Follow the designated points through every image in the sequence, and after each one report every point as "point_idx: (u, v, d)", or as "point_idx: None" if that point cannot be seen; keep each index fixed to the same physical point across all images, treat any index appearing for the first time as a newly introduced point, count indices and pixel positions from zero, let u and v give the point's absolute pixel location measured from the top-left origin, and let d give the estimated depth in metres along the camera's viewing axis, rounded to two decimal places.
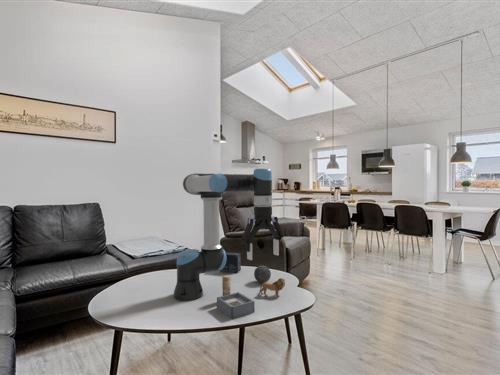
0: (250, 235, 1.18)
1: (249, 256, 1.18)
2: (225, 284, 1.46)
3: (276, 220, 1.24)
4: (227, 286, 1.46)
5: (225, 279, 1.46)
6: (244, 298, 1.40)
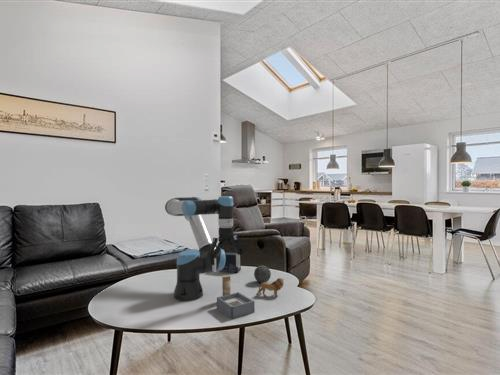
0: (214, 251, 1.44)
1: (214, 269, 1.43)
2: (225, 284, 1.46)
3: (237, 238, 1.50)
4: (227, 286, 1.46)
5: (225, 279, 1.46)
6: (244, 298, 1.40)
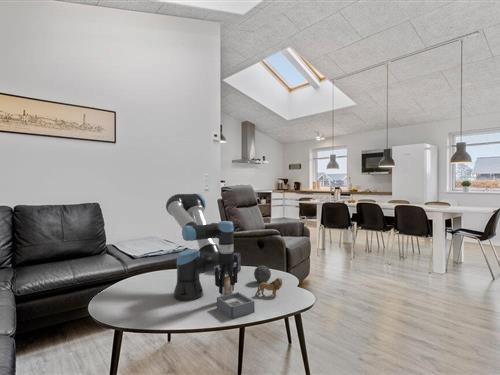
0: (220, 280, 1.46)
1: None
2: (225, 284, 1.46)
3: (236, 266, 1.50)
4: (227, 286, 1.46)
5: (225, 279, 1.46)
6: (244, 298, 1.40)
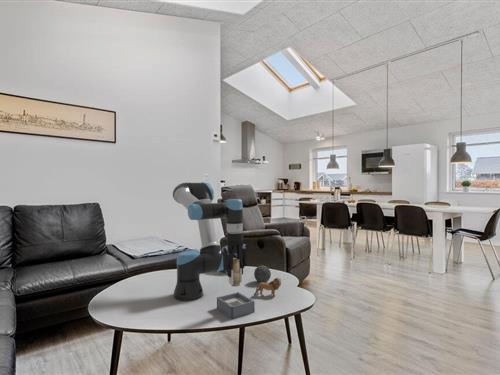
0: (229, 262, 1.34)
1: (230, 281, 1.34)
2: (234, 266, 1.34)
3: (246, 248, 1.39)
4: (236, 269, 1.34)
5: (234, 261, 1.34)
6: (244, 298, 1.40)
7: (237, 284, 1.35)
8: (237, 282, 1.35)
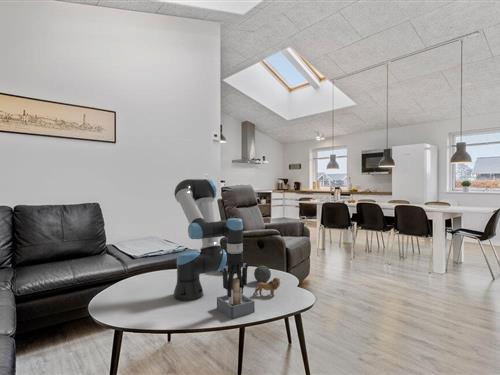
0: (229, 282, 1.35)
1: (230, 300, 1.35)
2: (234, 286, 1.35)
3: (246, 267, 1.39)
4: (236, 289, 1.35)
5: (234, 281, 1.35)
6: (244, 298, 1.40)
7: (237, 304, 1.35)
8: (237, 302, 1.35)
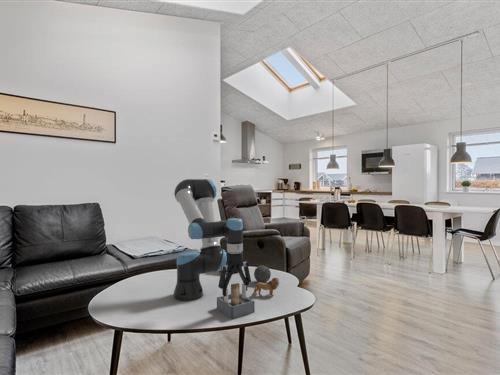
0: (225, 281, 1.34)
1: (225, 300, 1.33)
2: (234, 292, 1.35)
3: (247, 265, 1.39)
4: (236, 294, 1.35)
5: (234, 287, 1.35)
6: None
7: None
8: None
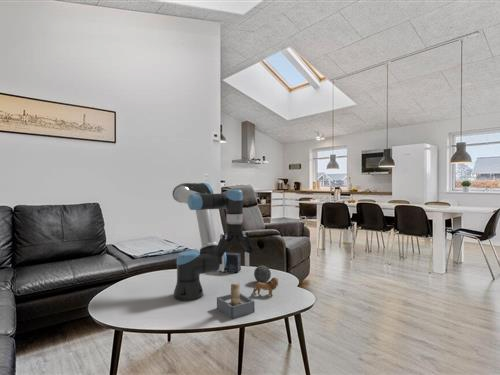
0: (222, 249, 1.33)
1: (221, 268, 1.32)
2: (234, 292, 1.35)
3: (247, 235, 1.39)
4: (236, 294, 1.35)
5: (234, 287, 1.35)
6: (244, 298, 1.40)
7: None
8: None
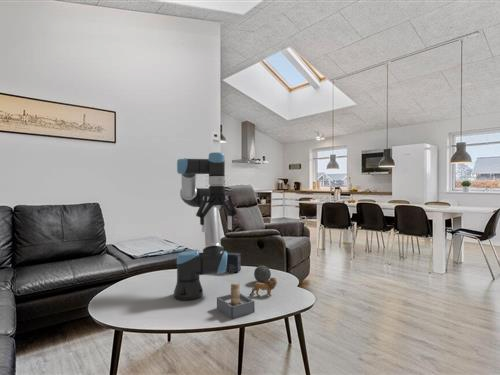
0: (204, 210, 1.34)
1: (203, 229, 1.34)
2: (234, 292, 1.35)
3: (229, 198, 1.41)
4: (236, 294, 1.35)
5: (234, 287, 1.35)
6: (244, 298, 1.40)
7: None
8: None
